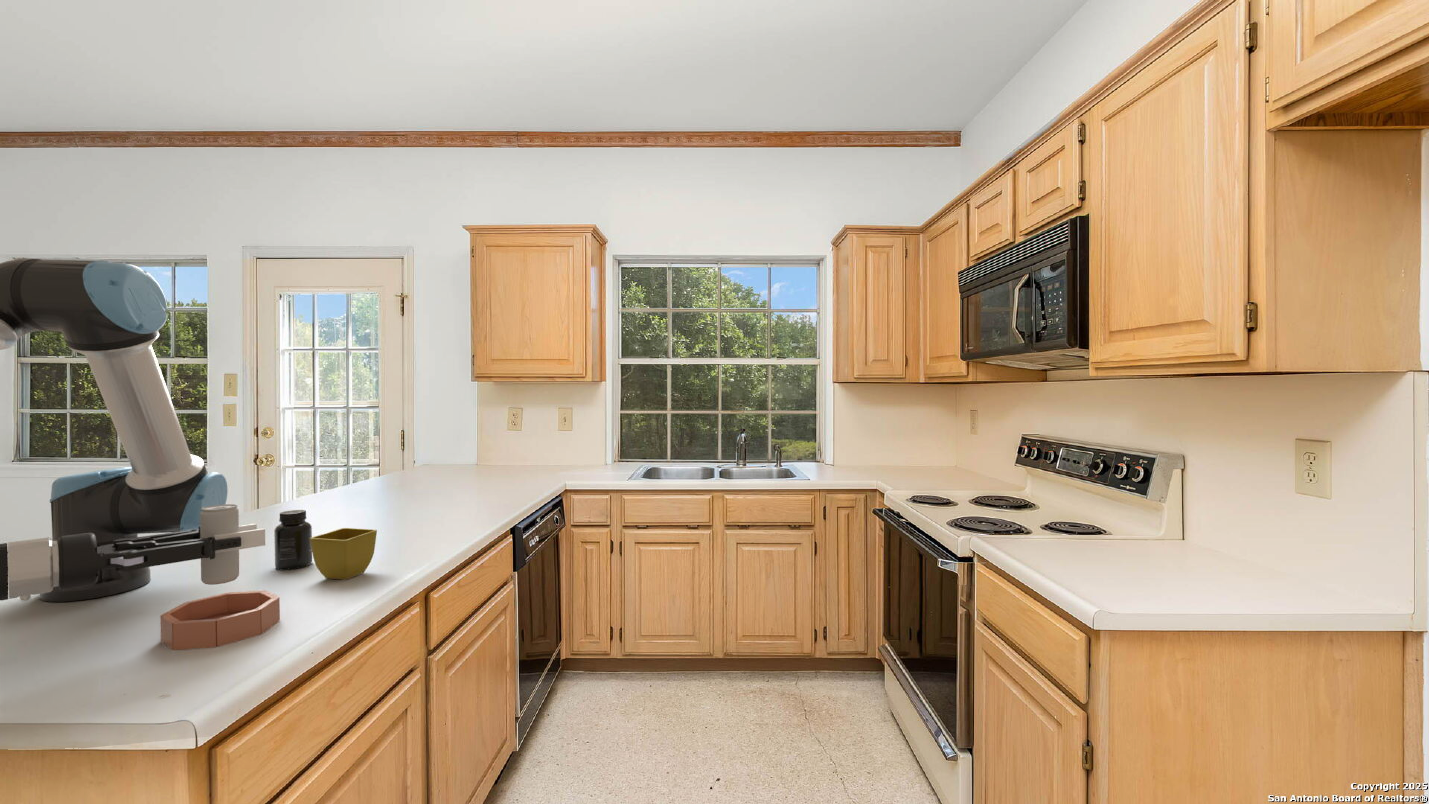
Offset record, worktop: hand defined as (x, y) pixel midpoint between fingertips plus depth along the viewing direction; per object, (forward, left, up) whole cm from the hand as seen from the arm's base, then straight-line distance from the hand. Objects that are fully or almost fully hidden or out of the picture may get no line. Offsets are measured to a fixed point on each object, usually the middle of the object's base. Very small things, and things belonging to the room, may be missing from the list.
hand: (259, 534), depth 102 cm
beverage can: (-4, -3, -7) cm, 9 cm away
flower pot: (+4, +24, -15) cm, 29 cm away
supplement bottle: (-10, +34, -15) cm, 38 cm away
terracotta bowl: (-4, -3, -15) cm, 16 cm away
